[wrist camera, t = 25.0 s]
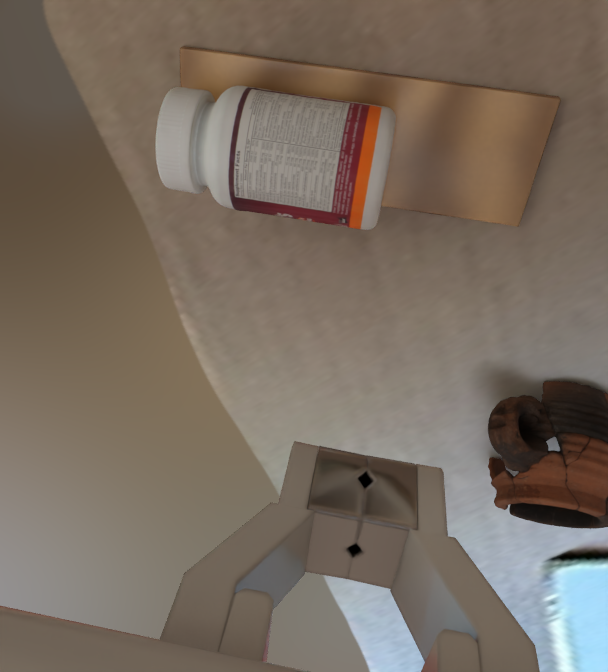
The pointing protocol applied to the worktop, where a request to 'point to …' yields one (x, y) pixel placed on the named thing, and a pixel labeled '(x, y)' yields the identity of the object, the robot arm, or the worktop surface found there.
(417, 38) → the worktop surface
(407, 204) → the wooden board
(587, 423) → the pottery mug
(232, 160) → the pill bottle
